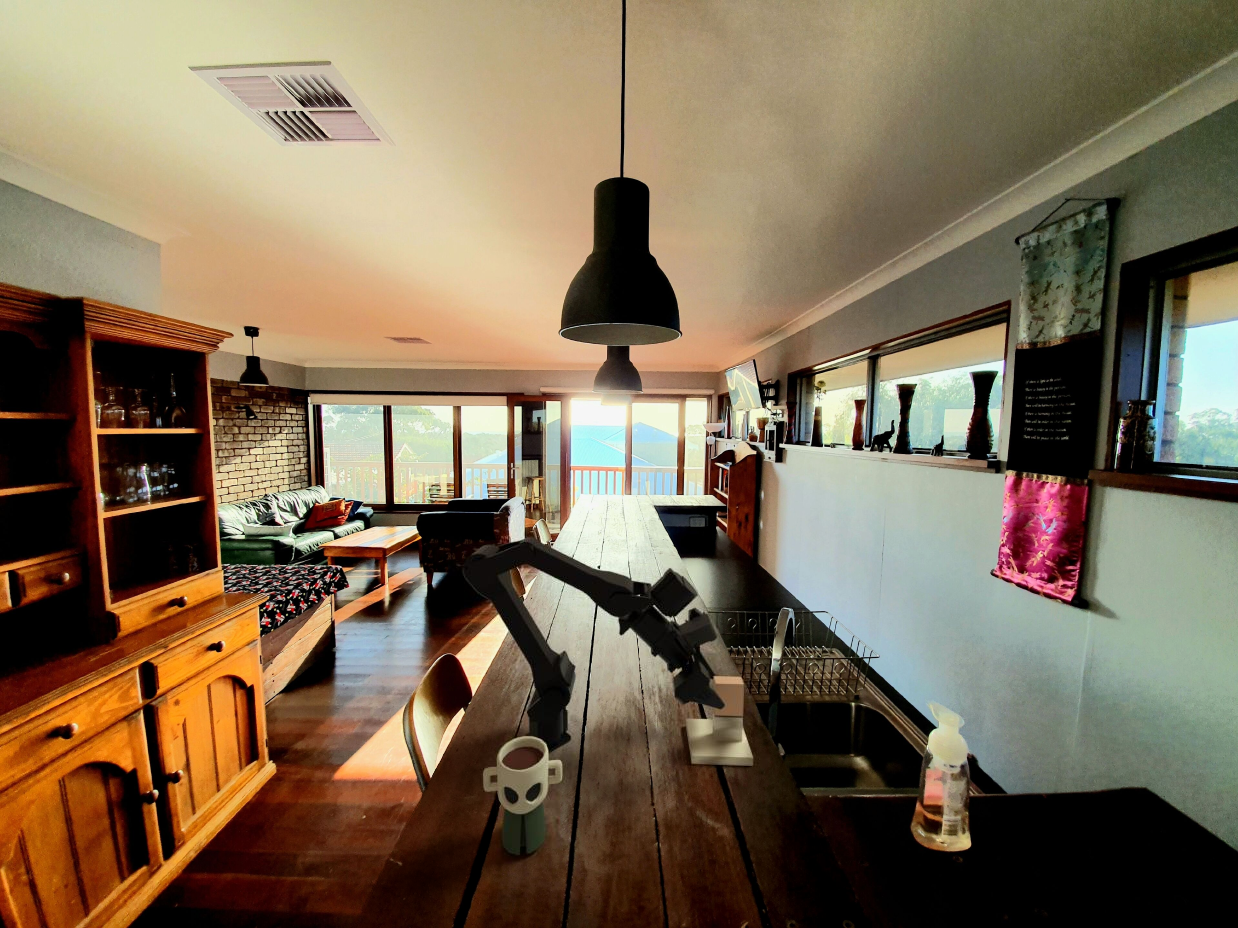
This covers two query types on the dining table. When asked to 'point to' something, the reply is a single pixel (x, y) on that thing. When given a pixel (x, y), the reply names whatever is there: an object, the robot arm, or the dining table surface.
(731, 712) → the peach rectangular post
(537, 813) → the character mug
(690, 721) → the cream square base plate
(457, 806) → the dining table surface
